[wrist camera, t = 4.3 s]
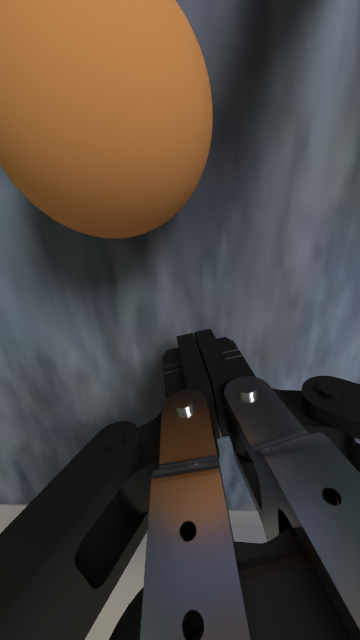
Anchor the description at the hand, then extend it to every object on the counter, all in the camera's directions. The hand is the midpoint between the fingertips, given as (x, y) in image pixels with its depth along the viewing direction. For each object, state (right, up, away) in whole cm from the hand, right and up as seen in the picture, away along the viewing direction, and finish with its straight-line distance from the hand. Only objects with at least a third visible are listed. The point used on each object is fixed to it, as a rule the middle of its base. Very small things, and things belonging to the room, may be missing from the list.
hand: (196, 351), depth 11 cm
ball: (-3, +6, -4) cm, 8 cm away
